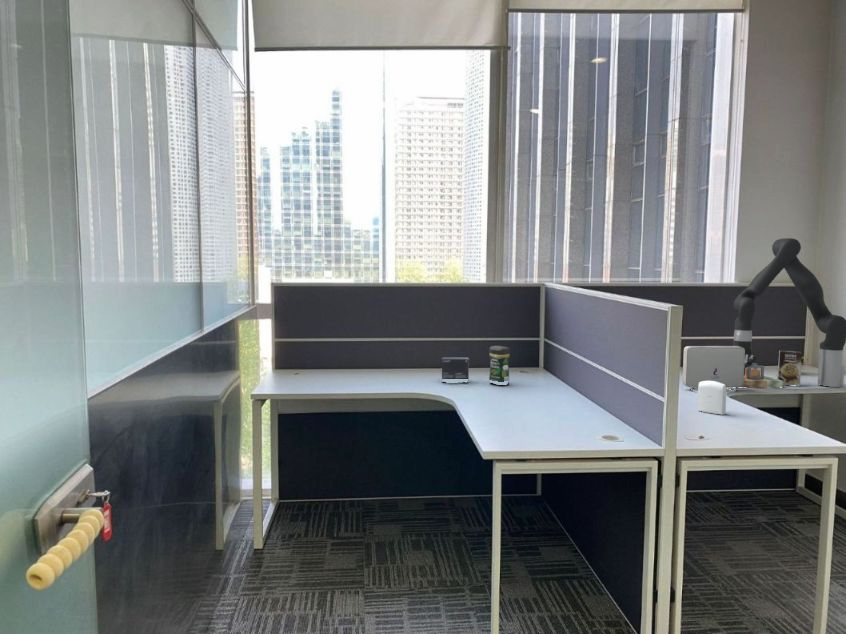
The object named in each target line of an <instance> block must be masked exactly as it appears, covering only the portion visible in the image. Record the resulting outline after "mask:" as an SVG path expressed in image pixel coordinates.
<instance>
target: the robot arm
mask: <svg viewBox="0 0 846 634" xmlns="http://www.w3.org/2000/svg"><path fill="white" fill-rule="evenodd" d="M771 248H772V249H771V251H772V253H773V255H774V258H773V259H772V261H771V262H769V264H767V266H765V267H764V268H763V269H762V270H761V271H759V272H758V273H757V274H756V275H755V276H754V278H753V279H752V280H751V282H750V283H749V285H748V286H747V287H746V288H745V289H743V291H742V292H740V294H738V296H736V298H735V299H734V301H733V308H734V309H735V310H736V311H737V312H738V317H737V318H735V320H734V332H733V345H732V346H739V347H742V348H744V349H745V359H744V375H745V369H748V367H747V366H751V364H752V363H755V361H756V360H757V356H754V355H753V353H752V345H753V344H752V343H753V342H752V341H753V331H752V329H753V328H752V327H753V319H754V316H755V313H756V312H755V311H756V303H755V301H754V300H756V299H757V298H759V297H761V296H762V295H763V294H764V293H765V292H766V291H767V289H768V288H769V286H770V284H771V283H772V282H773V281H774V280H775V278H777V276H778V275H779V274H780V273H781V272H782V271H783V269H784V270H785V271H786V273H787V275H788V277H789V279H790V280H791V282H792V283H793V285H794V288H795V289H796V291H797V293H798V294H799V296H800V297H801V299H802V301H803V302H804V304H805V305H806V307H807V308H808V311H809V312H810V314H811V316H812V317H813V320H814V322H815V325H816V327H817V328H818V330H819V331H820V332H822V333H823V334H825V337H824V340H823V341H820V343H819V352H818V368H817V369H818V370H817V385H818V384H820V385H823V386H822V387H825V386H829V387H828V388H840V387H844V378H845V366H844V365H843V360H844V359H843V358H844V347H845V345H846V318H845V317H844V316H841V315H837V314H832V312H831V311H830V310H829V308H828V306H827V305H826V302H825V297H824V290H823V287H822V285H821V283H820V282H819V280H818V279H817V277H816V275H815V274H814V273H813V272H812V271H811V270H809V268H808V267H806V266H805V264H803V263H802V262H801V261H800V259H799V258H798V255H799V254H800V252H801V249H802V245H801V243H800V242H799V240H798V239H795V238H792V237H789V238H787V237H786V238H779V239H776V240H775V241H774V242H773V243H772V246H771ZM820 385H819V386H820Z"/></svg>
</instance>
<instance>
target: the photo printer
mask: <svg viewBox="0 0 846 634" xmlns="http://www.w3.org/2000/svg"><path fill="white" fill-rule="evenodd" d="M697 390H698V392H697V411H698V412H701V411H702V413H708V414H716V415H721V416H725V415H726V410H727V408H726V407H727V392H726V391H727V389H726V385H724V384H722V383H720V382H716V381H702V382H700V383H699V385H698V389H697Z"/></svg>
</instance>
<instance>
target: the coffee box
mask: <svg viewBox="0 0 846 634" xmlns="http://www.w3.org/2000/svg"><path fill="white" fill-rule="evenodd" d="M802 357H803V352H802V351H797V350H784V349H783V350H781V349H779V351H778V365H777V366H778V367H777V379H779V380H781V381H783V385H796V386H800V387H801V377H802V376H801V374H802V365H801V364H802V360H803V359H802Z"/></svg>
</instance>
